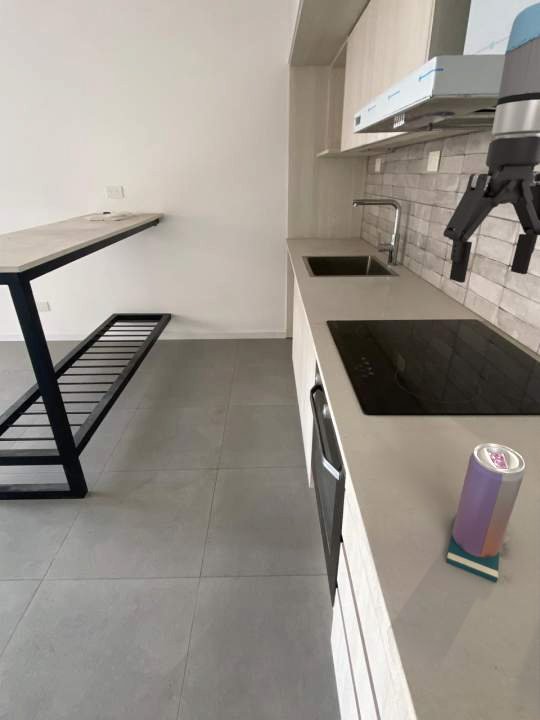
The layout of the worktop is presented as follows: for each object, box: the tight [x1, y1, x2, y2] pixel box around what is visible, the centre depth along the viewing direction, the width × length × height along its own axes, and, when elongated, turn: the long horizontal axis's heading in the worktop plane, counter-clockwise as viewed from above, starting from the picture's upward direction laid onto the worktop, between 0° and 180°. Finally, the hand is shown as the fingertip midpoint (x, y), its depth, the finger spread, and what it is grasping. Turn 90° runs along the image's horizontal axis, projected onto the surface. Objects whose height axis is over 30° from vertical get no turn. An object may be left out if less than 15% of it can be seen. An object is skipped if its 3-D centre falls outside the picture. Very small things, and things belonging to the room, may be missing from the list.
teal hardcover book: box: [445, 512, 501, 584], centre depth 55 cm, size 9×6×1 cm, turn 150°
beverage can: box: [451, 442, 526, 559], centre depth 52 cm, size 6×6×15 cm
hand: (488, 276), depth 69 cm, fingers open, 13 cm apart
